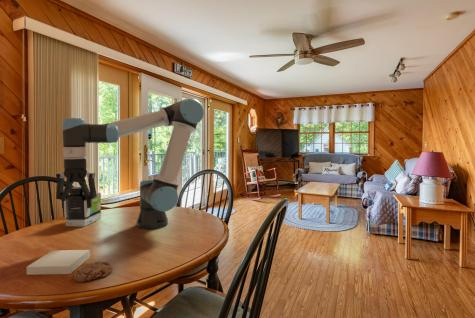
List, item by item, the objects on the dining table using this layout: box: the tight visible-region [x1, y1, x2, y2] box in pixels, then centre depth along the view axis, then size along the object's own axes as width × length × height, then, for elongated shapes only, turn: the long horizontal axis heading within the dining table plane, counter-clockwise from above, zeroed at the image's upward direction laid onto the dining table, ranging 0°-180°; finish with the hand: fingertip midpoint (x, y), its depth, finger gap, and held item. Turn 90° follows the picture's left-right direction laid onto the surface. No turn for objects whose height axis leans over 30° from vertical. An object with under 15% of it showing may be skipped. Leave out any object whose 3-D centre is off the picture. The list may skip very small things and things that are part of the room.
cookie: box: [73, 261, 113, 283], centre depth 85 cm, size 10×11×3 cm
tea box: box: [65, 192, 102, 227], centre depth 139 cm, size 15×10×15 cm
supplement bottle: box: [67, 186, 86, 220], centre depth 106 cm, size 7×7×12 cm
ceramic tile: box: [26, 249, 91, 276], centre depth 91 cm, size 13×13×2 cm
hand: (77, 216), depth 106 cm, fingers closed on supplement bottle, 7 cm apart
